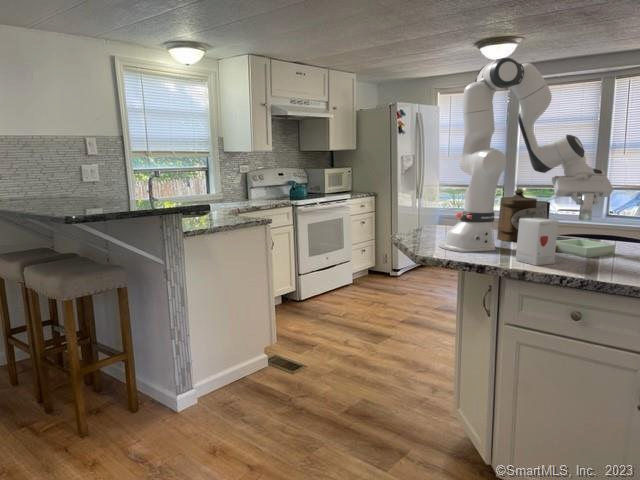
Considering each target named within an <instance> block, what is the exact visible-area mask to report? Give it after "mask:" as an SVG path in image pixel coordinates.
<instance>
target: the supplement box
mask: <svg viewBox="0 0 640 480" xmlns="http://www.w3.org/2000/svg"><path fill="white" fill-rule="evenodd" d="M558 229H559V220H557V219H550V218H549V219H545V218H520V219H519V229H518V240H517V242H516V253H515V261H516V262H517V261H518V262H521V263H526V264H529V265H533V266H543V265H553V264H555V259H556V258H555V257H556V252H555V250H556V241H558V240H557V237H558Z"/></svg>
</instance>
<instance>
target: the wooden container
mask: <svg viewBox="0 0 640 480" xmlns="http://www.w3.org/2000/svg"><path fill="white" fill-rule="evenodd" d="M499 201H500V204H499V205H500V206H499V212H498V213H499V214H498V224H497V239H498V240H499V241H503V242H509V243H510V242H512V243H517V240H518V229H519V219H520V218H536V204H537V201H538V199H537V198H534V197H525V196H524V190H522V189H517V188H516V189H515V190H514V195H513V196H505V197H504V196H503V197H501V198H500V200H499Z"/></svg>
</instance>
